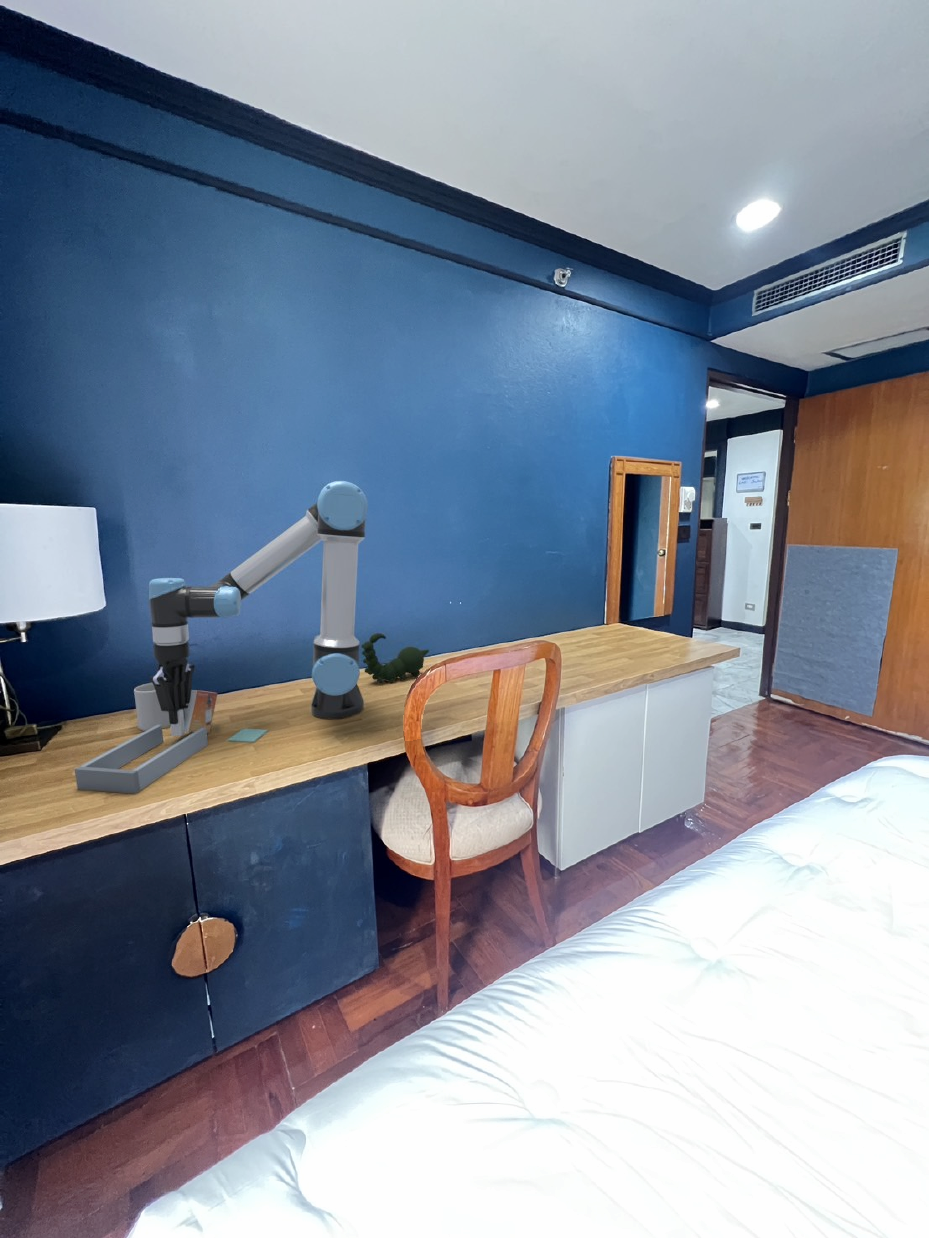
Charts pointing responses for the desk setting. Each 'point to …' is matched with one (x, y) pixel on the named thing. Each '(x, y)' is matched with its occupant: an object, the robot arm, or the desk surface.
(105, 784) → the channel
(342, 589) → the robot arm
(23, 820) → the desk surface
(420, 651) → the toy figurine
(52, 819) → the desk surface
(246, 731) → the pad
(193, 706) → the small box
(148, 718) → the mug
